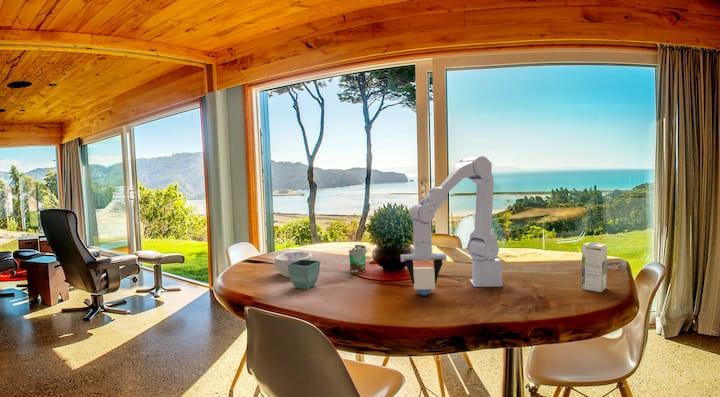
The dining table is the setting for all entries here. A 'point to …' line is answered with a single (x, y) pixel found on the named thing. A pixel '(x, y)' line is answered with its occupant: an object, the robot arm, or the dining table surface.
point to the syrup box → (594, 266)
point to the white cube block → (424, 278)
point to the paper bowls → (289, 260)
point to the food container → (357, 259)
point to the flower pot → (304, 273)
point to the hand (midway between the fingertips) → (424, 282)
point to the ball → (423, 291)
